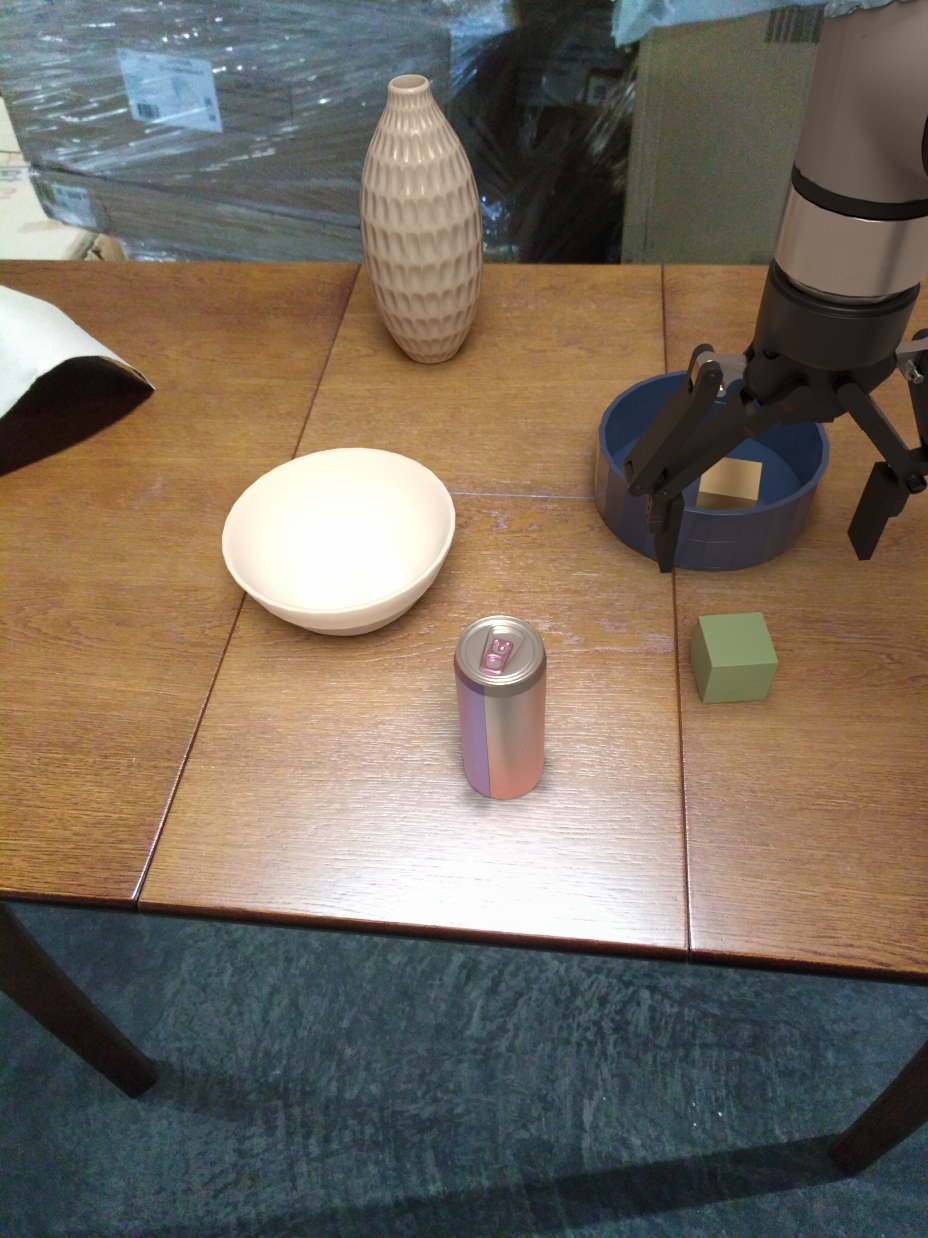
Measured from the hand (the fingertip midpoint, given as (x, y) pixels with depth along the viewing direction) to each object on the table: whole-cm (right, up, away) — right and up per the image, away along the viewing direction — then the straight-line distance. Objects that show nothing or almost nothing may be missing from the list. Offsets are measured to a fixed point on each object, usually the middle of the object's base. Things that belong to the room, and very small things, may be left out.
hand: (760, 553), depth 62 cm
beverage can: (-18, -16, +6) cm, 25 cm away
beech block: (+3, +5, +21) cm, 22 cm away
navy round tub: (+2, +7, +24) cm, 25 cm away
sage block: (+1, -9, +10) cm, 14 cm away
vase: (-24, +27, +41) cm, 55 cm away
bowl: (-31, -2, +18) cm, 36 cm away
